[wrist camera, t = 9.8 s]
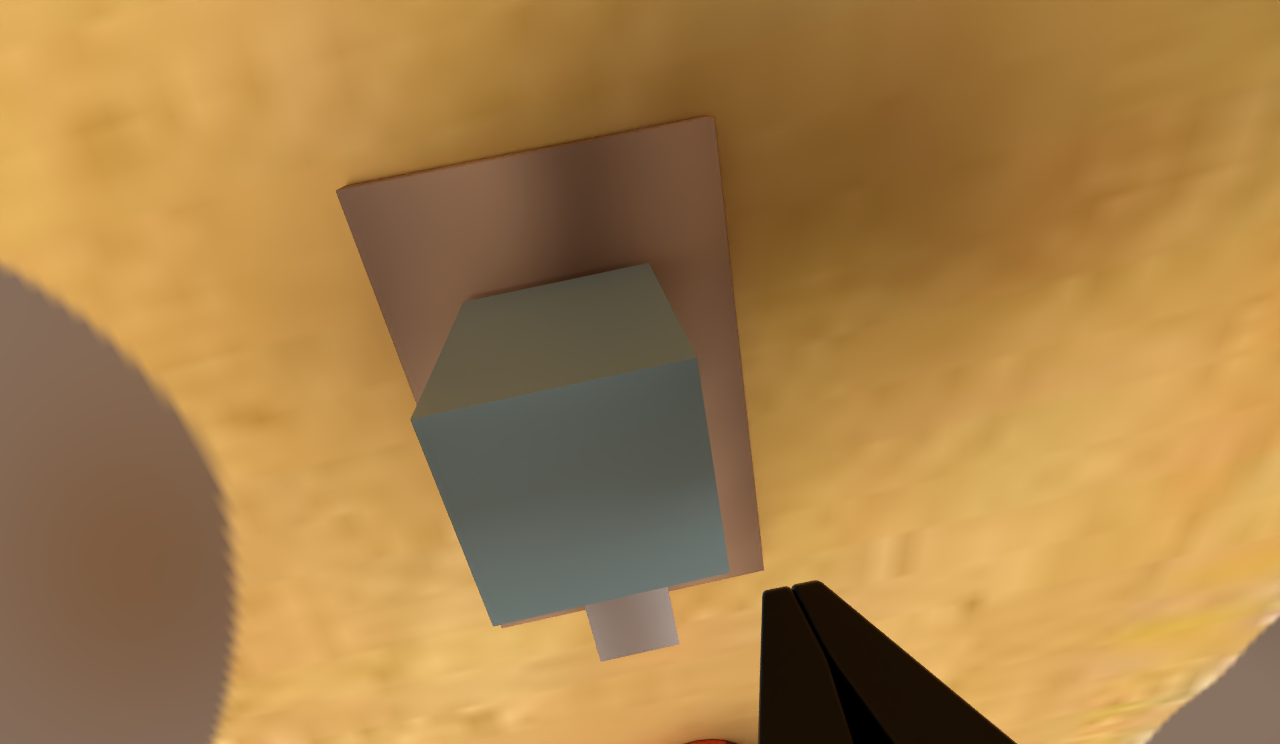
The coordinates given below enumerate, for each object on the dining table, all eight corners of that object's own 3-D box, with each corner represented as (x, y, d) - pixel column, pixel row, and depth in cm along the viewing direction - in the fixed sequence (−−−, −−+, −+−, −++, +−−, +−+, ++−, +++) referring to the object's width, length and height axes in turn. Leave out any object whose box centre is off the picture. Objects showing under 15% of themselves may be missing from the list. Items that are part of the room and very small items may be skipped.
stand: (707, 115, 17) (805, 133, 10) (757, 555, 24) (834, 737, 17) (345, 186, 16) (200, 252, 10) (503, 611, 23) (481, 819, 17)
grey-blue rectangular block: (648, 263, 17) (696, 358, 11) (677, 422, 19) (730, 572, 13) (463, 301, 17) (410, 419, 11) (513, 458, 19) (493, 626, 13)
